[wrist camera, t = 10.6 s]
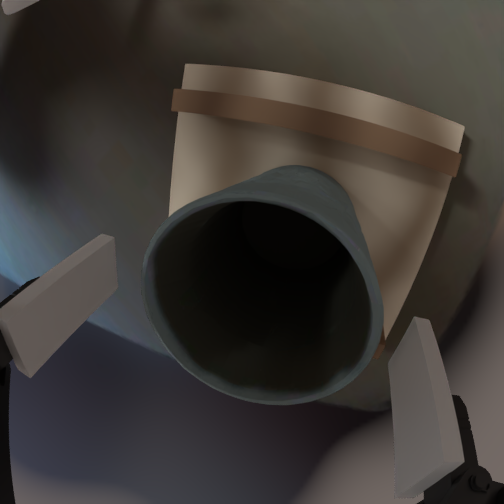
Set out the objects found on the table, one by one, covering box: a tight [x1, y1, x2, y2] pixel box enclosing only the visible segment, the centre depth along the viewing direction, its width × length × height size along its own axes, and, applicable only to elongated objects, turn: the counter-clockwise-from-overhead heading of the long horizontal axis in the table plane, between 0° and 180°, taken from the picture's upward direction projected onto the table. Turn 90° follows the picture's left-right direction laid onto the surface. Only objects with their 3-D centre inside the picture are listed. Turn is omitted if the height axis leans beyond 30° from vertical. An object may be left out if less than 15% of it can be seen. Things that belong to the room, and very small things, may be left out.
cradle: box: [169, 64, 465, 359], centre depth 22 cm, size 20×20×4 cm
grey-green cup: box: [141, 165, 384, 405], centre depth 17 cm, size 10×10×12 cm
